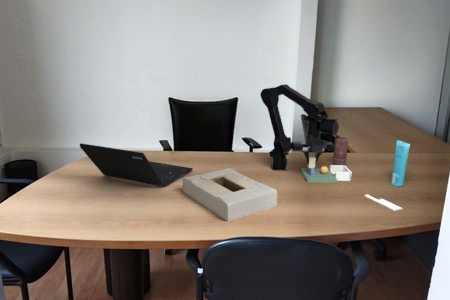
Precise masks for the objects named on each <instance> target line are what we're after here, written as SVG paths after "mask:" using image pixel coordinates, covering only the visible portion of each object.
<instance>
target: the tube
mask: <svg viewBox="0 0 450 300" xmlns="http://www.w3.org/2000/svg"><path fill="white" fill-rule="evenodd" d="M395 145H396V146H395V153H394V159H393V160H394V161H393V167H392V173H391V174H392V175H391V185H392V186H395V187H402V186H404V184H405V177H406V170H407V165H408V164H407V163H408V159H409V152H410V148H411V144H410V143H407V142H404V141H402V140H398V139H396V143H395Z"/></svg>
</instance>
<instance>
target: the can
mask: <svg viewBox="0 0 450 300" xmlns="http://www.w3.org/2000/svg"><path fill="white" fill-rule="evenodd" d="M349 141H350V140H349V139H348V138H346V137H335V139H334V145H335V151H333V158H332V159H333V160H332V165H345V166H347V156H348V147H349V144H350V143H349Z"/></svg>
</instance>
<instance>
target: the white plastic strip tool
mask: <svg viewBox="0 0 450 300" xmlns="http://www.w3.org/2000/svg"><path fill="white" fill-rule="evenodd" d="M364 197H366V198H368V199H370V200H372V201H374V202H376V203H378V204H379V205H381V206H384V207H386V208H387V209H390V210H392V211H395V212H396V211H400V210H403V209H404V208H403V207H401V206H398V205H396V204H394V203H392V202H390V201H388V200H386V199H384V198H379V199H378V198H375V197H374V196H371V195H370V194H368V193H367V194H364Z"/></svg>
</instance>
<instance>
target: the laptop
mask: <svg viewBox="0 0 450 300" xmlns="http://www.w3.org/2000/svg"><path fill="white" fill-rule="evenodd" d="M79 147H80V149H81V150H82V151H83V152H84V153H85V155H86V156H87V157H88V158H89V159H90V161H91V162H92V163H93V164H94V165H95V167H96V168H97V169H98V171H100V172H101V173H102V175H103V176H106V177H112V178H116V179H117V178H118V179H120V180H121V179H123V180H128V181H134V182H140V183H144V184H147V185H148V184H149V185H154V186H155V185H156V186H160V187H166V186H168V185H170V184H172V183H174V182H175V181H177V180H179V179H180V178H182V177H184V176H186V175H187V174H189V173H190V172H191V171H193V167H187V166H182V165H180V166H179V165H173V164H169V163H161V162H155V161H150V160H149V159H148V157H147V156H146V155H145V153H144V152H141V151H140V152H139V151H133V150H127V149H120V148H113V147H106V146H101V145H94V144H88V143H87V144H86V143H81V142H80V143H79Z"/></svg>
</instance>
